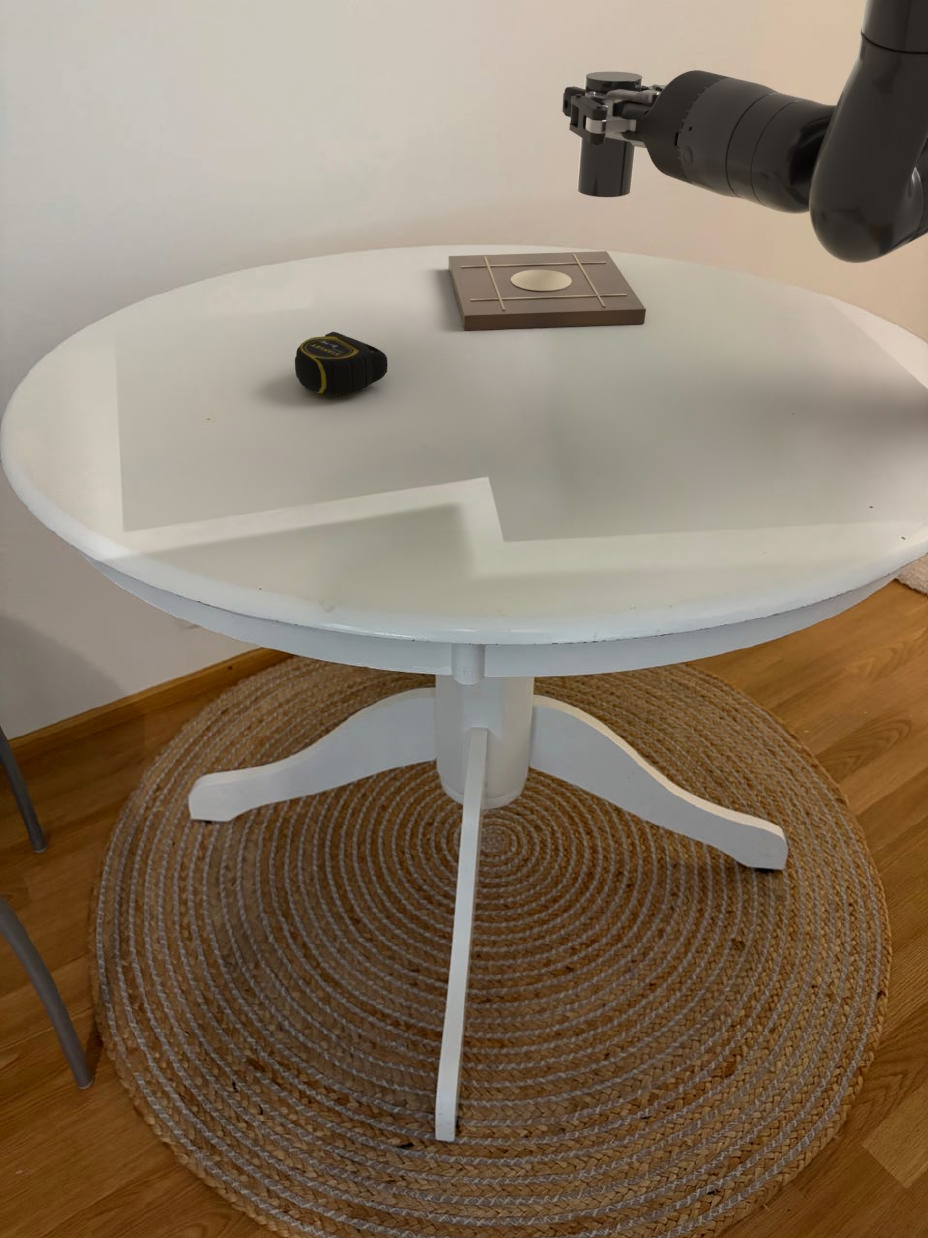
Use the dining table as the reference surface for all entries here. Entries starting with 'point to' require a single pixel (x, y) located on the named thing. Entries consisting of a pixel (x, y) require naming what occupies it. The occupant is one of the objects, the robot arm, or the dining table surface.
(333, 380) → the tape measure
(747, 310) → the dining table surface
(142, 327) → the dining table surface
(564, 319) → the board
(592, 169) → the canister
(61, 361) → the dining table surface
